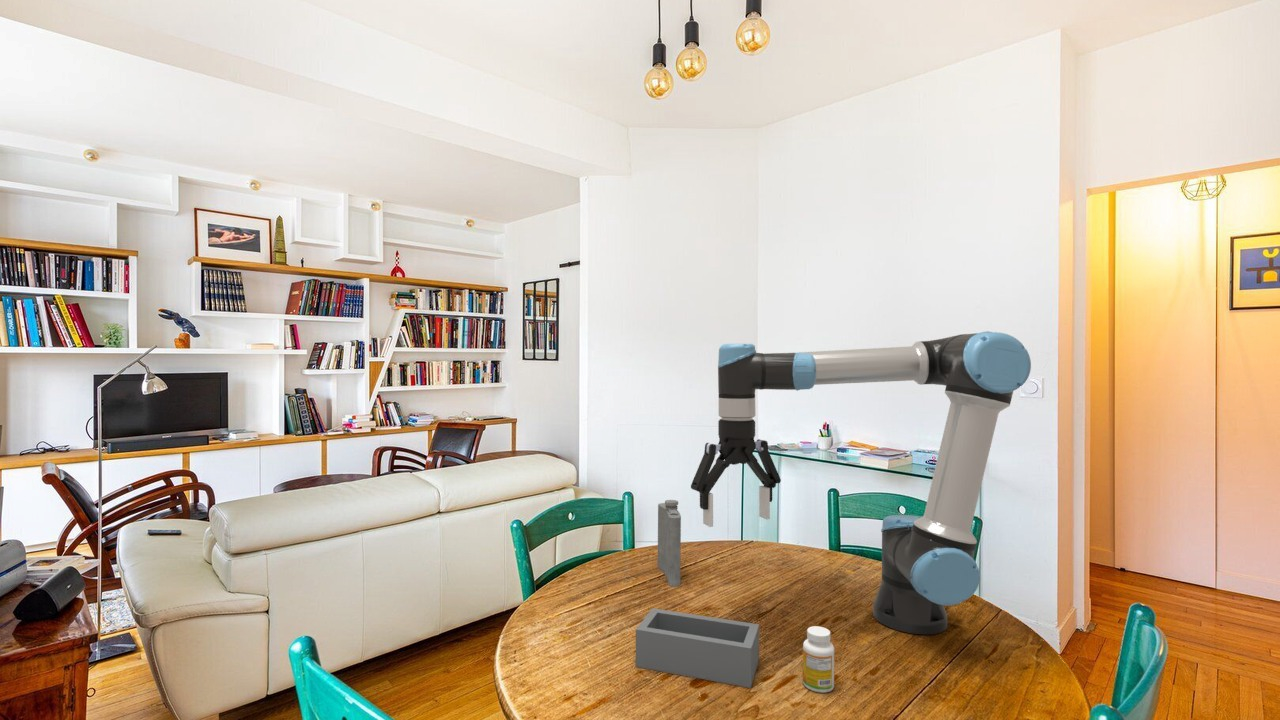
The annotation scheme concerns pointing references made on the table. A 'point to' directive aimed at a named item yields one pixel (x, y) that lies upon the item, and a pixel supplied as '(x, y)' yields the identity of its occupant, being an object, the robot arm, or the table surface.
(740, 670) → the tray
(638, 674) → the table surface
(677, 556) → the hip flask
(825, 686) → the supplement bottle
